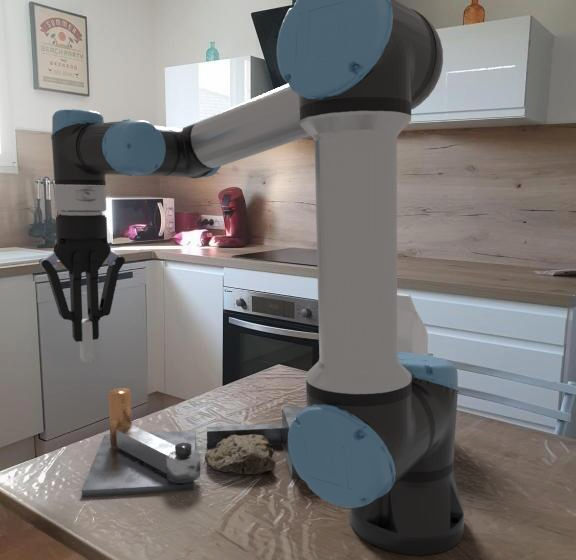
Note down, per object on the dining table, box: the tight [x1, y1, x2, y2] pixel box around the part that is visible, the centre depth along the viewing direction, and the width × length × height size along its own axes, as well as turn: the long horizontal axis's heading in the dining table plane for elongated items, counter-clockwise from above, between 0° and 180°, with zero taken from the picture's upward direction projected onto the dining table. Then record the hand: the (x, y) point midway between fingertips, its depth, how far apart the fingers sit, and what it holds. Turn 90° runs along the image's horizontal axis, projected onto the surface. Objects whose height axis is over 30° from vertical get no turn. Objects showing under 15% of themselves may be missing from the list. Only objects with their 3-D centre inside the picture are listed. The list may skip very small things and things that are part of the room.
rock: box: [204, 434, 276, 476], centre depth 96 cm, size 11×11×4 cm
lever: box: [108, 387, 201, 483], centre depth 94 cm, size 21×5×9 cm, turn 48°
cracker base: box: [81, 406, 302, 498], centre depth 97 cm, size 20×34×7 cm, turn 98°
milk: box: [397, 293, 429, 356], centre depth 108 cm, size 12×12×26 cm
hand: (86, 359), depth 96 cm, fingers closed
